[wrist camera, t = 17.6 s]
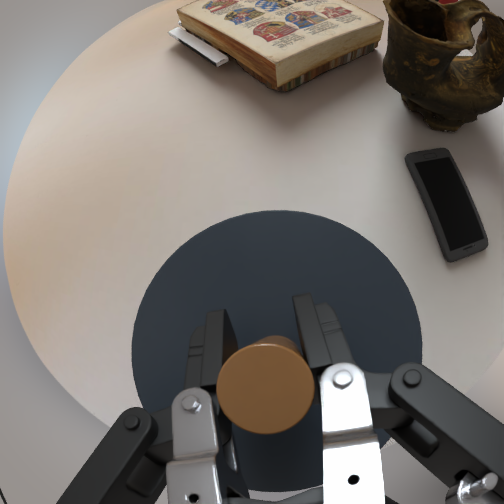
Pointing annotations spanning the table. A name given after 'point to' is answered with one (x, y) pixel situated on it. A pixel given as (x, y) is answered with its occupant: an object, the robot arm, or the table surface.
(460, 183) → the cell phone
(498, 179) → the table surface
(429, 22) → the pottery vessel
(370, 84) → the table surface
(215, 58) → the book
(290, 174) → the table surface
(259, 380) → the lid
